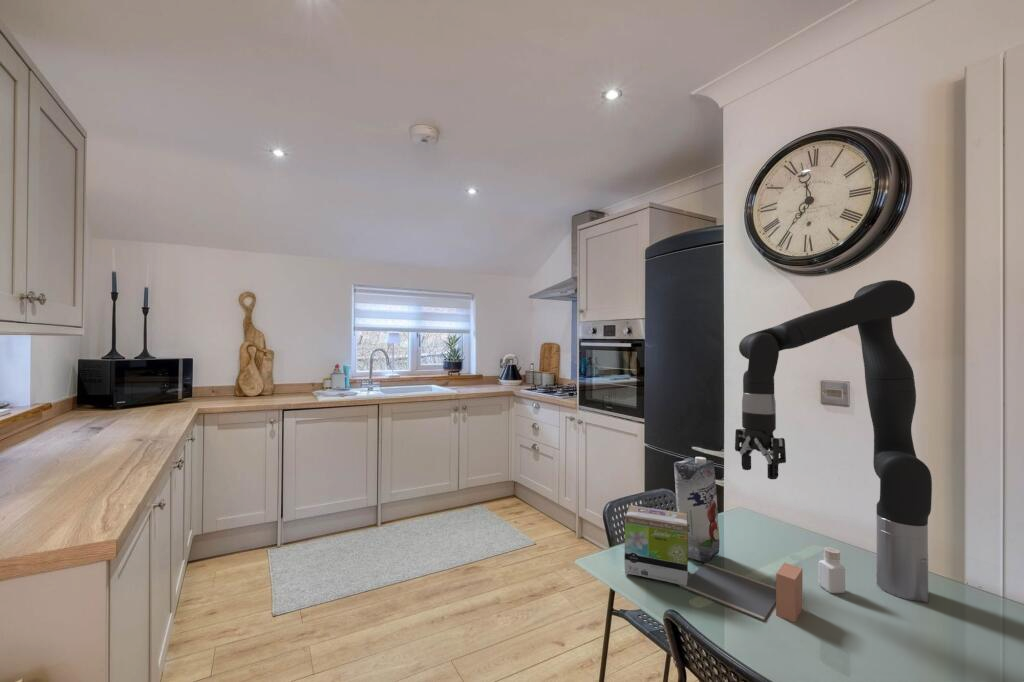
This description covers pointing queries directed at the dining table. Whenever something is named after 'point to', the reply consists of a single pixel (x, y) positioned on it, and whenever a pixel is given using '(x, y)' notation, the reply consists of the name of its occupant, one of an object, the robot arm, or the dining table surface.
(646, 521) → the tea box
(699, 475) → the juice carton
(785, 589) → the brick
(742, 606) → the tray
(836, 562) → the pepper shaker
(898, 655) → the dining table surface
